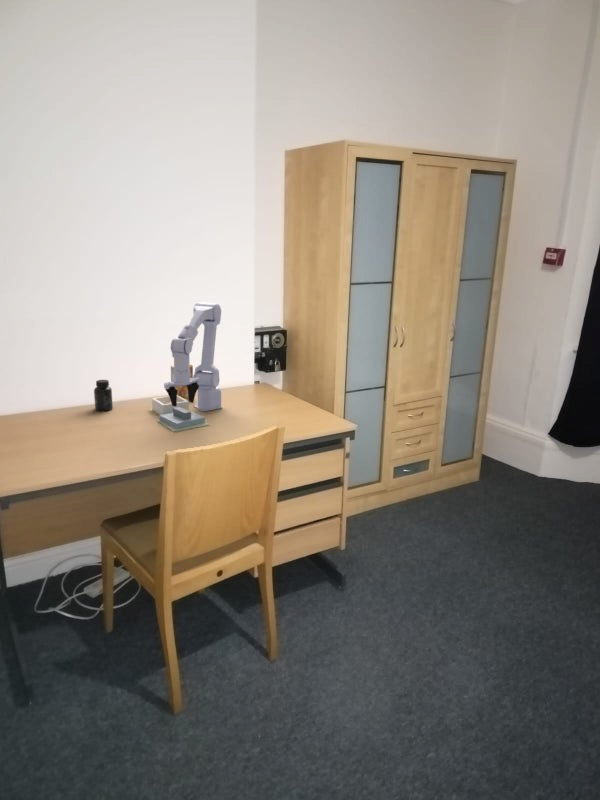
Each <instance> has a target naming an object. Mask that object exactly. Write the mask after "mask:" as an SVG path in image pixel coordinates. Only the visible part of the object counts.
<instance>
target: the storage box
mask: <svg viewBox="0 0 600 800" xmlns="http://www.w3.org/2000/svg"><path fill="white" fill-rule="evenodd" d="M151 406H152V407H151V408H152V411H153V410H154V411H153V412H155V413H156V412H157V414H158V415H159V414H160V415H164V414H168V413H173V408H176V407H181V408H184V409H186V410H189V400H188V399H186V400H185V399H183V398H182V397H180V396H178V395H177V405H176V406H172V403H171V400H170V397H169V395H168V396H167V395H166V396H158V397H152V398H151ZM189 411H190V410H189Z"/></svg>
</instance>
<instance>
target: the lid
mask: <svg viewBox="0 0 600 800" xmlns="http://www.w3.org/2000/svg"><path fill="white" fill-rule="evenodd" d="M158 416H159V419H160V421H161V422H163V423H165V424H167V425H169V426H172V427H174V428H176V429H180V428H184V427H189V426H193V425H197V424H201V423H205V422H206V416H202V415H200V414H199V413H195V412H193V411H191V410H186V409H184V408H181V407H176V408H173V413H168V414H164V415H159V414H158Z"/></svg>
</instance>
